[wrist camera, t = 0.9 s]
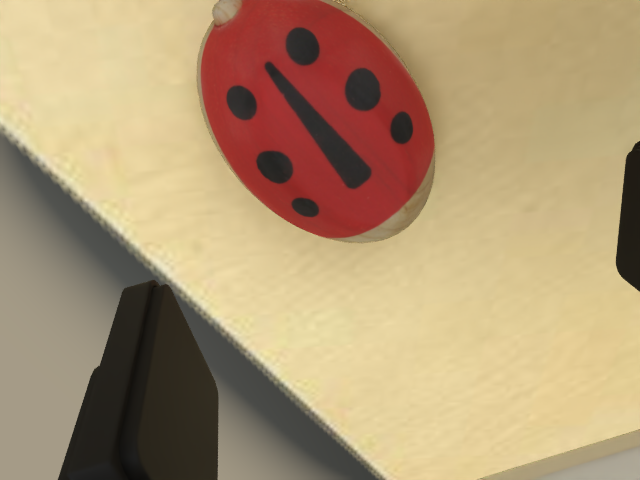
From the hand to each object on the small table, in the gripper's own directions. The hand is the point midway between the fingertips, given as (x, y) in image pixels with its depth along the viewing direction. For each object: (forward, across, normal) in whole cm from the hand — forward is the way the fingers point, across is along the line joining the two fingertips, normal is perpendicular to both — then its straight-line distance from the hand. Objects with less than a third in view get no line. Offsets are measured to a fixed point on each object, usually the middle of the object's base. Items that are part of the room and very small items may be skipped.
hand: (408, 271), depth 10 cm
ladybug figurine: (+9, 0, 0) cm, 9 cm away
